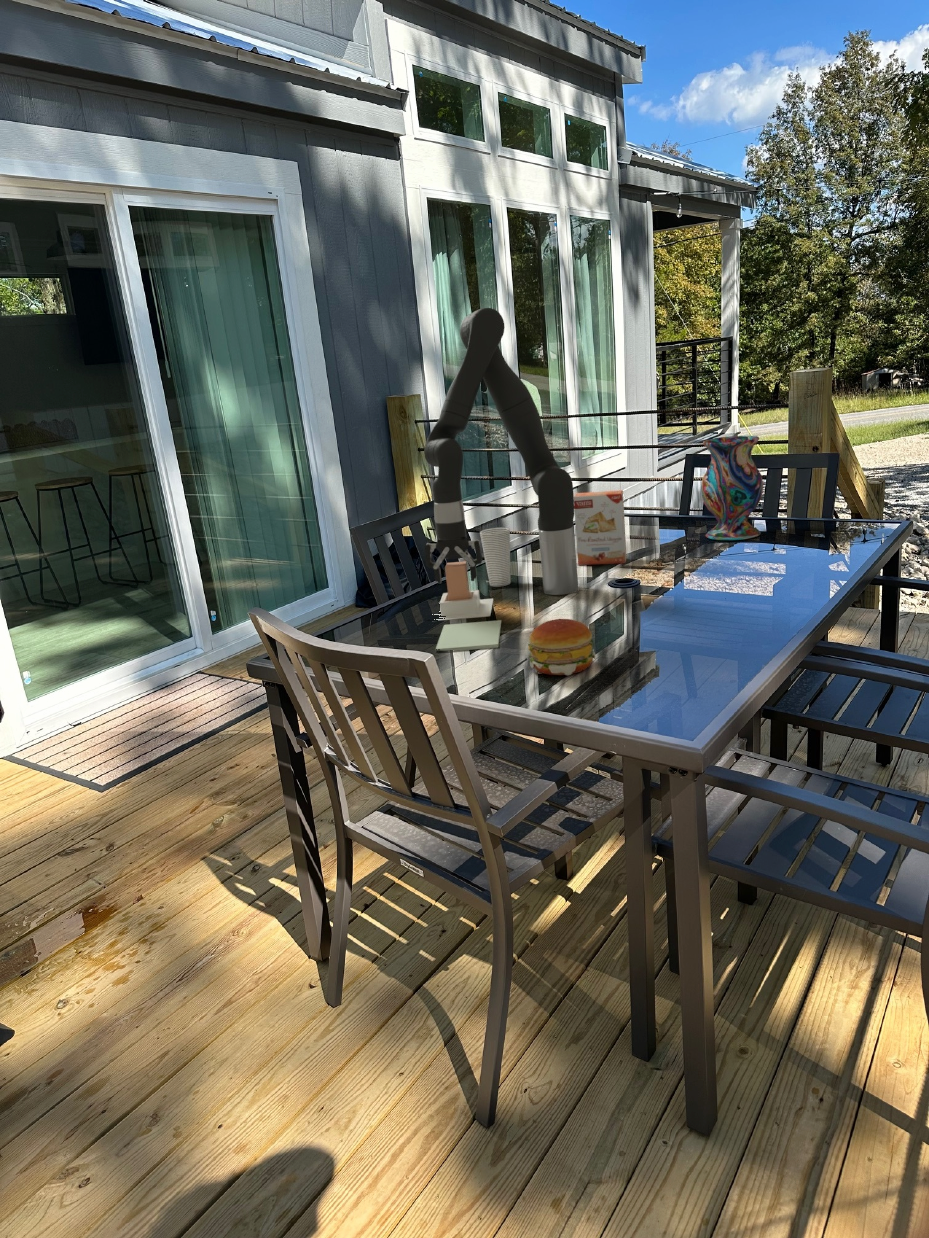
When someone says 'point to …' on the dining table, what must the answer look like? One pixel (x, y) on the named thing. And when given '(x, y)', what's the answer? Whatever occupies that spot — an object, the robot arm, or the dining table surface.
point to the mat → (470, 636)
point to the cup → (497, 555)
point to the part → (457, 581)
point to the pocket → (465, 607)
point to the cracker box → (600, 527)
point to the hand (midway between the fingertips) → (456, 581)
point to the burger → (561, 647)
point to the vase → (732, 487)
